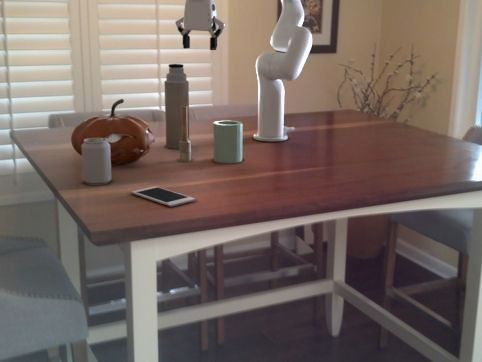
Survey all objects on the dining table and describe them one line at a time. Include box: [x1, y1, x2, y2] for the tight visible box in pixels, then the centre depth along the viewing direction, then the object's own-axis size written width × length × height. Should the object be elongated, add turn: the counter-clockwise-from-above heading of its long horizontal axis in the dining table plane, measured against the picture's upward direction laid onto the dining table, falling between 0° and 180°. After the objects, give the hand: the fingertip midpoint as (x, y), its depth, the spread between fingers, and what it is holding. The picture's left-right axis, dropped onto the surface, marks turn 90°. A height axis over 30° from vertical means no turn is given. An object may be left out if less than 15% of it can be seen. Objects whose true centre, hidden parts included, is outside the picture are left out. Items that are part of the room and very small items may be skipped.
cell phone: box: [131, 186, 195, 208], centre depth 170 cm, size 8×16×1 cm, turn 48°
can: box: [81, 138, 112, 186], centre depth 181 cm, size 8×8×12 cm
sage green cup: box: [212, 119, 244, 164], centre depth 210 cm, size 9×9×12 cm
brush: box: [178, 106, 192, 162], centre depth 208 cm, size 4×4×17 cm
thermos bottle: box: [164, 63, 190, 150], centre depth 226 cm, size 8×8×28 cm
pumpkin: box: [70, 98, 156, 166], centre depth 204 cm, size 25×25×19 cm
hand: (199, 49), depth 216 cm, fingers open, 9 cm apart
